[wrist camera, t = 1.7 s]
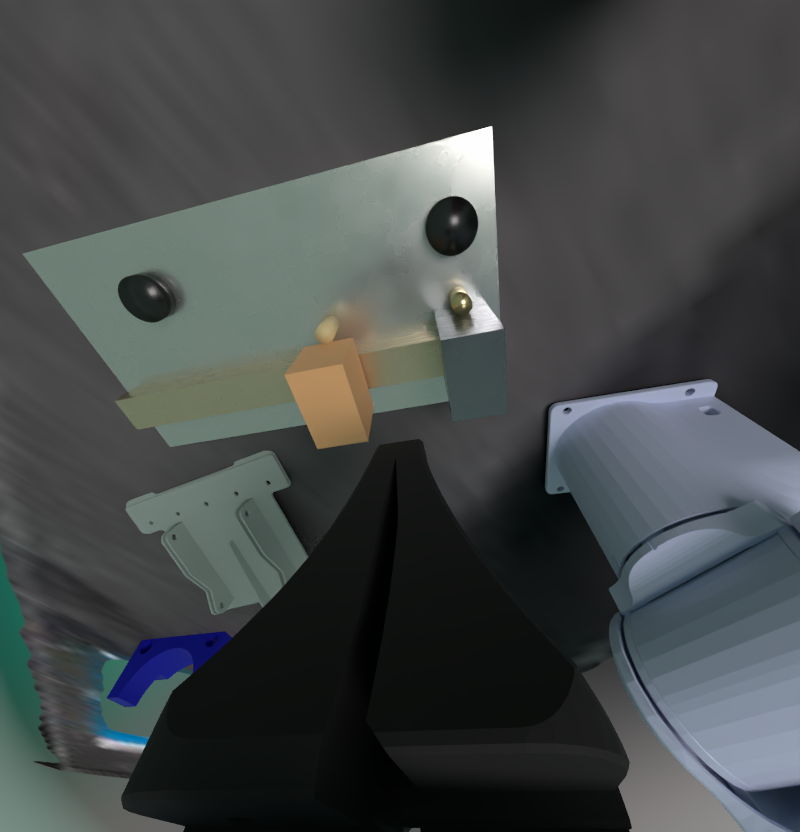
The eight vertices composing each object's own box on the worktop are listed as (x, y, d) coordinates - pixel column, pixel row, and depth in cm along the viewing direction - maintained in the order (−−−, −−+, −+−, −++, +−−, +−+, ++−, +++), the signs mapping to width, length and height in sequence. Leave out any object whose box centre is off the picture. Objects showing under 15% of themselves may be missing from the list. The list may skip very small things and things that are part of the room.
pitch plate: (486, 131, 14) (525, 96, 9) (498, 382, 20) (524, 436, 15) (45, 250, 16) (-94, 270, 12) (180, 436, 23) (123, 495, 18)
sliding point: (352, 310, 16) (335, 342, 13) (375, 394, 19) (368, 441, 15) (304, 320, 17) (275, 354, 13) (334, 401, 19) (317, 449, 16)
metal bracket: (342, 608, 25) (194, 640, 29) (361, 554, 30) (235, 586, 34) (249, 447, 22) (94, 506, 25) (289, 418, 27) (157, 471, 31)
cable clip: (165, 653, 44) (133, 711, 39) (142, 638, 42) (106, 698, 37) (243, 645, 42) (221, 705, 37) (225, 629, 40) (198, 691, 35)
